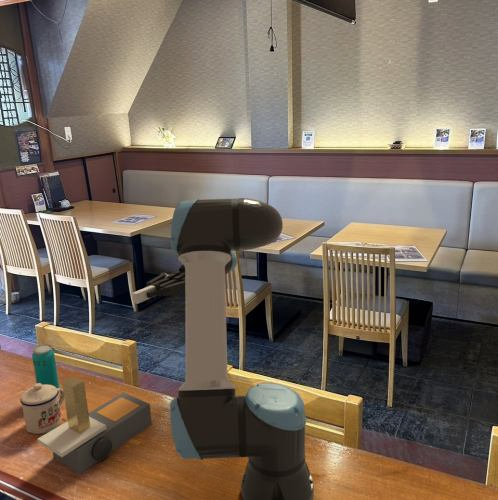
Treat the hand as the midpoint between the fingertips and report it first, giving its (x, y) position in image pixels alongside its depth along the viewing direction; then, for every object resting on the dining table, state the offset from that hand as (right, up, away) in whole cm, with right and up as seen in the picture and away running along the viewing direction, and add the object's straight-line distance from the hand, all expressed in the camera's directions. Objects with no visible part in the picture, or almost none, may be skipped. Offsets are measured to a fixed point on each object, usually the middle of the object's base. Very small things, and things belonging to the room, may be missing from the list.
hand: (134, 298), depth 129 cm
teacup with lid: (-24, -33, +5) cm, 41 cm away
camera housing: (-7, -35, -4) cm, 35 cm away
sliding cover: (-12, -31, -12) cm, 35 cm away
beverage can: (-28, -30, +16) cm, 44 cm away
